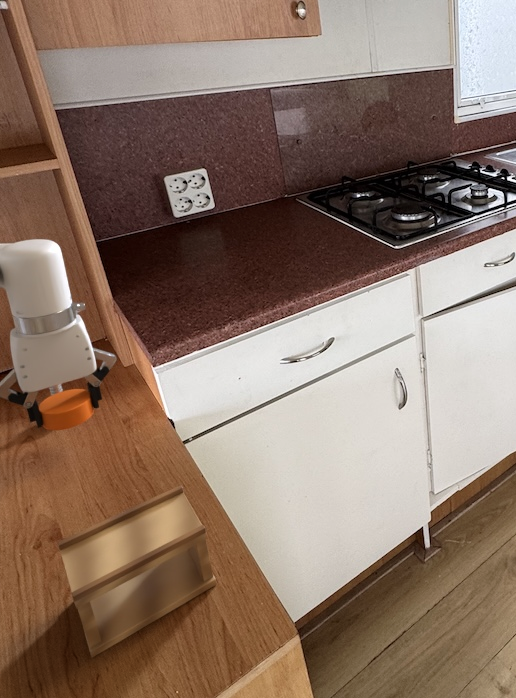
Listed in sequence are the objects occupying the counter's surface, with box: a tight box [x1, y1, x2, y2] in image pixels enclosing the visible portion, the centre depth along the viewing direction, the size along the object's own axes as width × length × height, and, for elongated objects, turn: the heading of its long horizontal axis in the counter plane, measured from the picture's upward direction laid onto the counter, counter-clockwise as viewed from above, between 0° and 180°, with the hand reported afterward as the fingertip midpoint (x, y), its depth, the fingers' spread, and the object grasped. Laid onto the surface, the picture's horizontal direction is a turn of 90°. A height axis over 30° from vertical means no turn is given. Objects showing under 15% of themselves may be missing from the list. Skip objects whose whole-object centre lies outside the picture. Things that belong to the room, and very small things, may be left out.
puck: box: [38, 388, 95, 431], centre depth 96 cm, size 7×7×3 cm
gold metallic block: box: [57, 484, 218, 658], centre depth 74 cm, size 14×10×10 cm
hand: (67, 412), depth 96 cm, fingers closed on puck, 7 cm apart
